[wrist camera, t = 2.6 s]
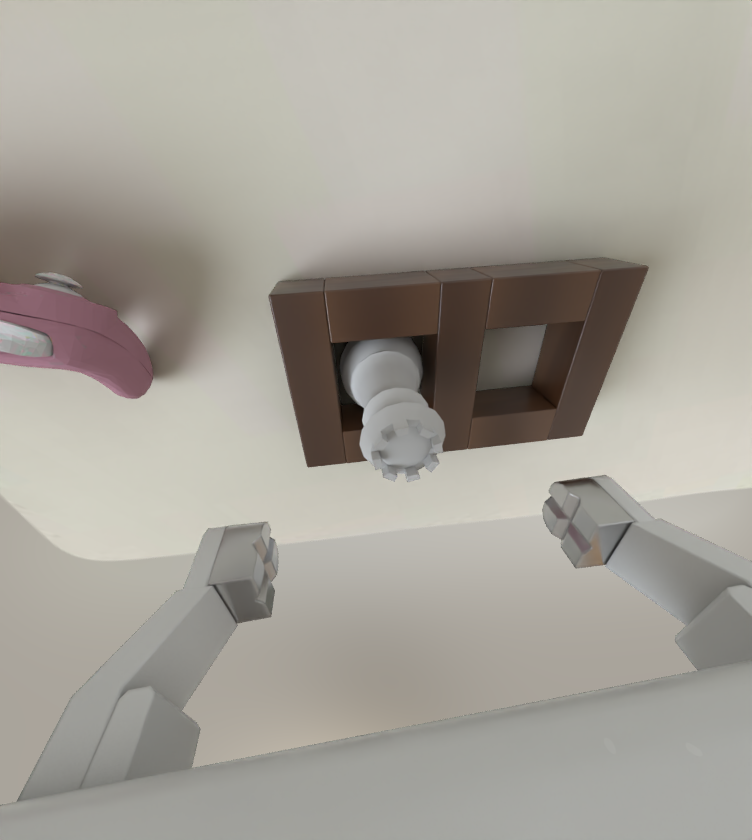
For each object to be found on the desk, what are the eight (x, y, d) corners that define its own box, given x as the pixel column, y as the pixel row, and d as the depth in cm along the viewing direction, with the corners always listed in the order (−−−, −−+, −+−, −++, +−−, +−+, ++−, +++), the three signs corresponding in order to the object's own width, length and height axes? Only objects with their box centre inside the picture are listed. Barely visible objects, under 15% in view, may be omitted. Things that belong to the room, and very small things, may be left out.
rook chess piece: (417, 394, 19) (462, 493, 13) (342, 401, 19) (349, 506, 12) (420, 320, 17) (479, 395, 10) (335, 326, 16) (338, 407, 10)
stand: (604, 257, 16) (650, 265, 14) (555, 411, 21) (582, 436, 19) (277, 281, 15) (267, 295, 13) (310, 437, 20) (307, 468, 18)
